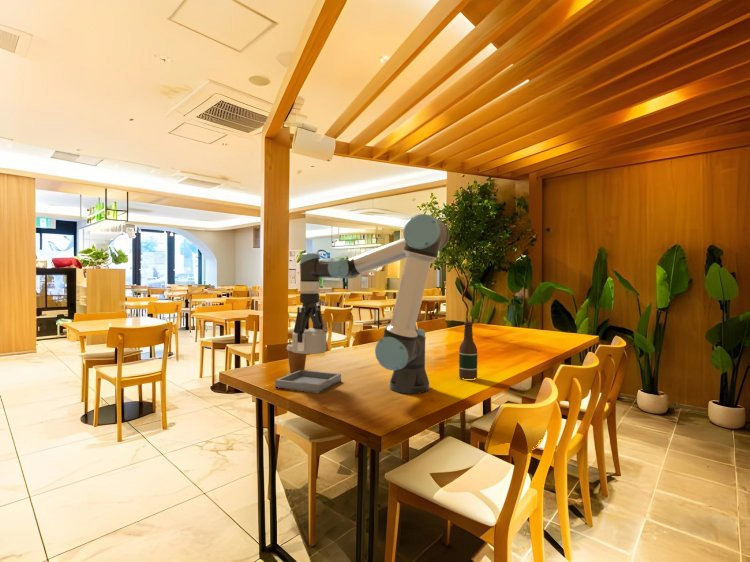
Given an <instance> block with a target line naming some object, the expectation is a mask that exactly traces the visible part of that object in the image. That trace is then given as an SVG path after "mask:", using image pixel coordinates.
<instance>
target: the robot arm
mask: <svg viewBox="0 0 750 562" xmlns="http://www.w3.org/2000/svg"><path fill="white" fill-rule="evenodd" d="M402 232H403V238H400V239H397V240H395V241H393V242H392V241H391V242H389V243H387V244H383V245H381V246H379V247H376V248H374V249H371V250H369V251H366V252H363V253H360V254H358V255H356V256H352V257H349V258H348V259H346V258H341V257H334V258H333V257H332V258H330V257H329V258H321V256H320V254H319V253H313V252H307V253H306V252H304V253H301V255H300V260H299V261H300V262H299V270H300V271H299V272H300V276H299V277H300V279H299V280H300V282H299V292H300V293H299V302H300V303H301V304H302V306H297V313H296V318H295V321H294V322H295V324H294V328H293V333H295V334H297V335H298V336H297V338H298V339H297V341H298V351H305V334H303V333H304V330H305V329H306V326H307V324H308V320H309V319H310V318H311V322H312V325H313V327H314V329H321V330H323V331H324V322H323V315H322V309H321V308H322V306H321V305H320V304H318V303H319V302H320V293H319V292H320V279H321V278H323V279H355V278H358V277H359V276H360V275H362V274H363V273H367V272H371V271H373V270H376V269H378V268H381V267H385V266H388V265H390V264H393V263H396V262H398V261H401V260H404V259H405V261H404V265H403V271H402V274H401V279H400V283H399V286H398V291H397V296H396V298H395V299H396V300H395V303H394V309H393V311H392V317H391V320H390V322H389V324H387V325H385V327H384V331H383V335H382V338H380V340H379V341H378V342H377V343H376V345H375V349H374V355H375V358H376V360H377V362H378V364H379V365H380V366H381V367H383V368H384V369H386V370H387V371H392V374H391V378H390V381H389V388H390V390H391V391H393V390H394V392H397V393H400V392H401V393H402V394H420V393H419V392H423V393H425V392H424V391H426V392H428V391H429V390H430V381H429V377H428V374H427V370H426V338H427V337H426V331H425V329H422V328H416V325H417V321H418V316H419V313H420V309H421V305H422V302H423V301H422V300H423V297H424V292H425V288H426V285H427V281H428V276H429V272H430V268H431V264H432V262H433V261H435V260H437V259H438V255H439V251H440V250H442V249H443V248H445V247H446V245H447V244H448V242H449V240H450V230H449V228H448V226H447V225H446V223H445V222H444V221H442V220H440V219H438V218H436V217H435V216H434V215H431V214H425V213H418V214H415V215H414V216H411V217H410V218H409V219H408V220H407V222H406V223H405V225H404V227H403V231H402ZM428 389H429V390H428ZM427 390H428V391H427Z"/></svg>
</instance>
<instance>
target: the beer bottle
mask: <svg viewBox="0 0 750 562" xmlns="http://www.w3.org/2000/svg"><path fill="white" fill-rule="evenodd" d="M473 324H474V323H473V322H472V321H464V329H463V330H464V331H463V333H464V334H463V340H462V341H461V342H460V346H459V349H458V351H459V353H458V355H459V357H458V359H459V360H458V376H459V379H460V378H464V379H474V378H477V379H478V348H477V345H476V343H475V341H474V338H473V337H474V335H473V333H474V332H473Z"/></svg>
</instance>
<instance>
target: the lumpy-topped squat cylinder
mask: <svg viewBox="0 0 750 562" xmlns="http://www.w3.org/2000/svg"><path fill="white" fill-rule="evenodd" d="M303 334H305V351H298V341H297V339H298V338H297V336H298V335H297V334H295V333H294V332H292V334H291V335H292V337H291V338H292V339H291V344H292V352H294V353H301V354H306V355H318V354H324V353H325V352H326V351H327V331H324V329H323V330H321V329H315V328H313V327H309V328H308V329H307V328H305V330H304V333H303Z"/></svg>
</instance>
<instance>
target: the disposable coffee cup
mask: <svg viewBox="0 0 750 562" xmlns="http://www.w3.org/2000/svg"><path fill="white" fill-rule="evenodd" d="M286 350H287V357H288V366H289V372H290V373H294V372H296V371H299V370H305V368H306V360H307V354H301V353H294V352H292V343H289V344H287V346H286Z"/></svg>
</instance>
